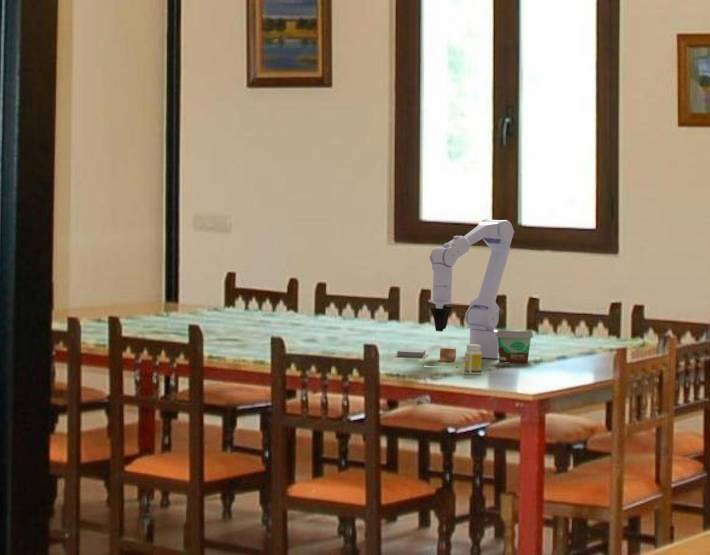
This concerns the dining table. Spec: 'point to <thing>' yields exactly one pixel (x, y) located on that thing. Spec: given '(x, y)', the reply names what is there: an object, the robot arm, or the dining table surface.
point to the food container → (514, 346)
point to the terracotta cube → (447, 353)
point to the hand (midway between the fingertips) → (440, 330)
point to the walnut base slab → (411, 357)
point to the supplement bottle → (473, 359)
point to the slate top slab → (411, 352)
